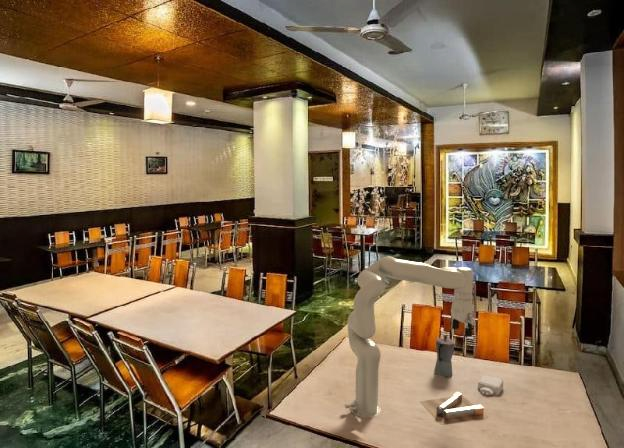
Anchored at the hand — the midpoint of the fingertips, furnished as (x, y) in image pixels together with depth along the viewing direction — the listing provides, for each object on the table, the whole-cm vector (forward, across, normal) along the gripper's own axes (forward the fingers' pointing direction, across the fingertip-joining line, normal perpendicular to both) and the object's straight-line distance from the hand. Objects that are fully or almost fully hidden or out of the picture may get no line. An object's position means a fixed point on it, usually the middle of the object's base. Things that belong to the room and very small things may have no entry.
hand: (461, 332), depth 185 cm
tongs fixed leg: (+30, +15, -7) cm, 34 cm away
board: (+31, +9, -9) cm, 34 cm away
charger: (+32, -2, +17) cm, 36 cm away
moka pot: (+31, -23, +6) cm, 39 cm away
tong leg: (+30, +8, -10) cm, 32 cm away
